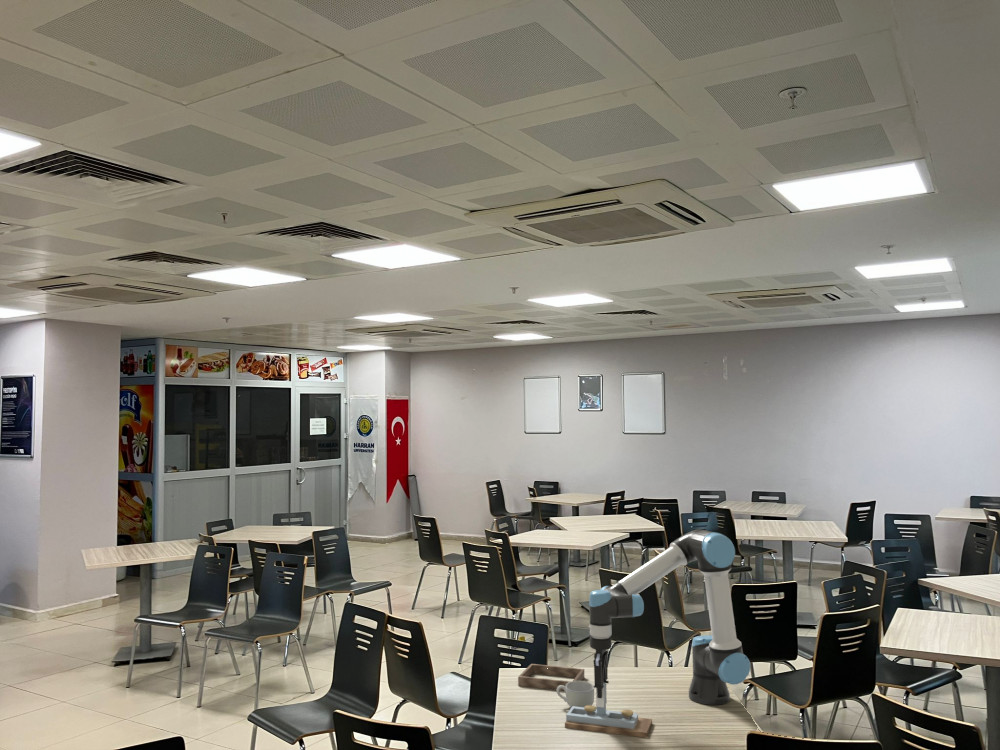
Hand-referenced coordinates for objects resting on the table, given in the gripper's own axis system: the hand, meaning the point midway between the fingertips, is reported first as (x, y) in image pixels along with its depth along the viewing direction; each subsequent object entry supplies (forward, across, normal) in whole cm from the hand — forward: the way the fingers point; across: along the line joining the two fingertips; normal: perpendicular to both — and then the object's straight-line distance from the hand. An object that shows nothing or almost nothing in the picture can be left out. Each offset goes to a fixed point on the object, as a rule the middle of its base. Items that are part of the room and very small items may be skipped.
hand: (601, 704), depth 269 cm
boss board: (+7, 0, +2) cm, 7 cm away
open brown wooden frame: (+7, -39, -28) cm, 49 cm away
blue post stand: (+5, 0, +1) cm, 5 cm away
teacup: (+7, -14, -12) cm, 20 cm away
